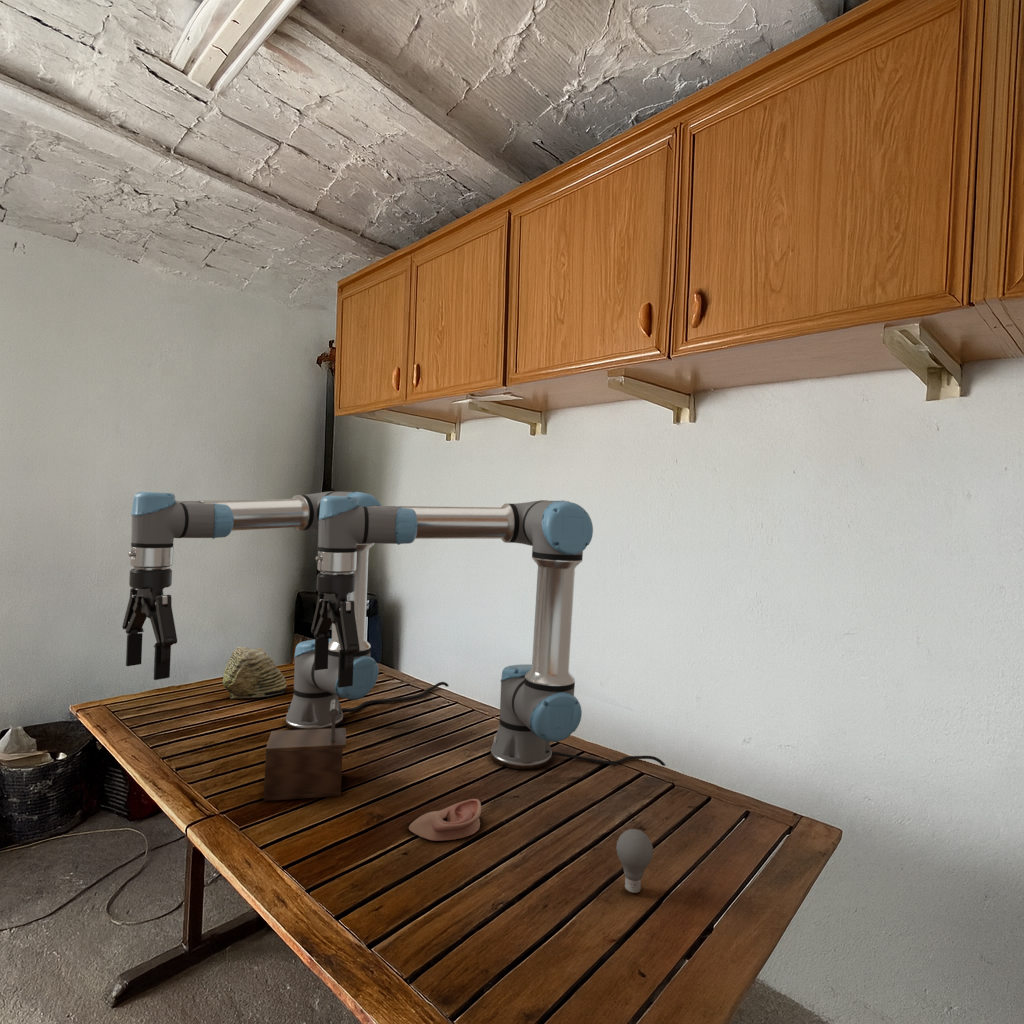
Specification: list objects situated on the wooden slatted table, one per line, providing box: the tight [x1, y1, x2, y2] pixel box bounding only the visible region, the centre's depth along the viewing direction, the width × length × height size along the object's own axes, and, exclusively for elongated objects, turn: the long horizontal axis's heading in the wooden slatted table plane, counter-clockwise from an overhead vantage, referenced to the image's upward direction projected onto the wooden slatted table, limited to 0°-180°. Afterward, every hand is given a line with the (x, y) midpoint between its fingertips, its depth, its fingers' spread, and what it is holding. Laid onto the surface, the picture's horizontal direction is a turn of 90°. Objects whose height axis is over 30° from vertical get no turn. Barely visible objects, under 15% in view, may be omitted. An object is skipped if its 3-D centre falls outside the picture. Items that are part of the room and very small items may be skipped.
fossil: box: [222, 646, 288, 699], centre depth 198 cm, size 9×18×15 cm, turn 132°
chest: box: [263, 748, 344, 802], centre depth 137 cm, size 15×10×10 cm, turn 104°
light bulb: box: [615, 828, 654, 894], centre depth 106 cm, size 6×6×10 cm
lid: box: [265, 699, 347, 753], centre depth 137 cm, size 16×10×8 cm, turn 105°
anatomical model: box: [408, 798, 482, 842], centre depth 124 cm, size 13×4×12 cm
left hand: (147, 671), depth 129 cm, fingers open, 13 cm apart
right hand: (332, 677), depth 128 cm, fingers open, 13 cm apart
